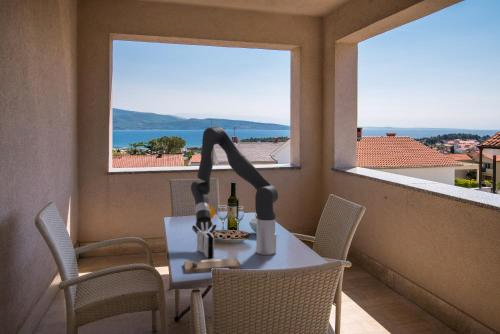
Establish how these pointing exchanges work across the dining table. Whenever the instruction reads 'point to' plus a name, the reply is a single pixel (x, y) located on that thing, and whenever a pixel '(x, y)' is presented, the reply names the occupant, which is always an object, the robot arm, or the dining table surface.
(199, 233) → the hinge
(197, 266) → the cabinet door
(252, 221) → the chinaware
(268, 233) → the robot arm
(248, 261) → the dining table surface
